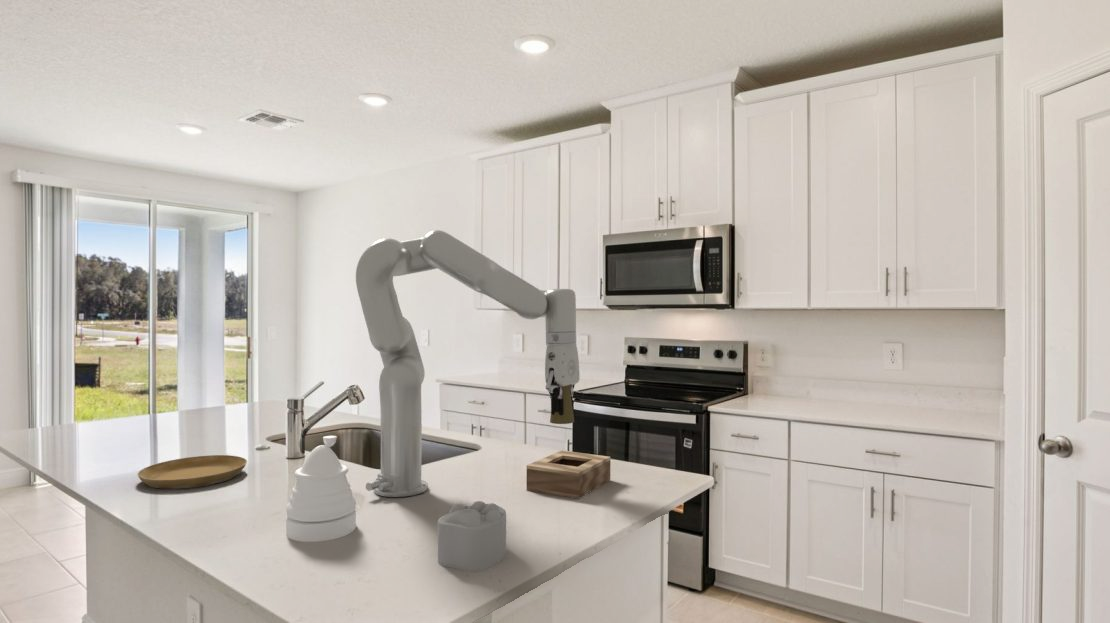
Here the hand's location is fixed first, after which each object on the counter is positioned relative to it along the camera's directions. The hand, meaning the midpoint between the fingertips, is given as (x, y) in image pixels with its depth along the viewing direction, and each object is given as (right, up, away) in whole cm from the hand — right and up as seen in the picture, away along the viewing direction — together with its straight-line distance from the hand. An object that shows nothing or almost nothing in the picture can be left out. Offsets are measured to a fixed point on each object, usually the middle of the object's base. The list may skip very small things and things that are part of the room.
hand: (562, 412), depth 156 cm
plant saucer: (-94, -18, +5) cm, 96 cm away
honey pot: (-48, -18, -31) cm, 60 cm away
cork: (0, -2, 0) cm, 2 cm away
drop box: (+2, -18, +1) cm, 18 cm away
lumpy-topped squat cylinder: (-16, -19, -44) cm, 50 cm away
